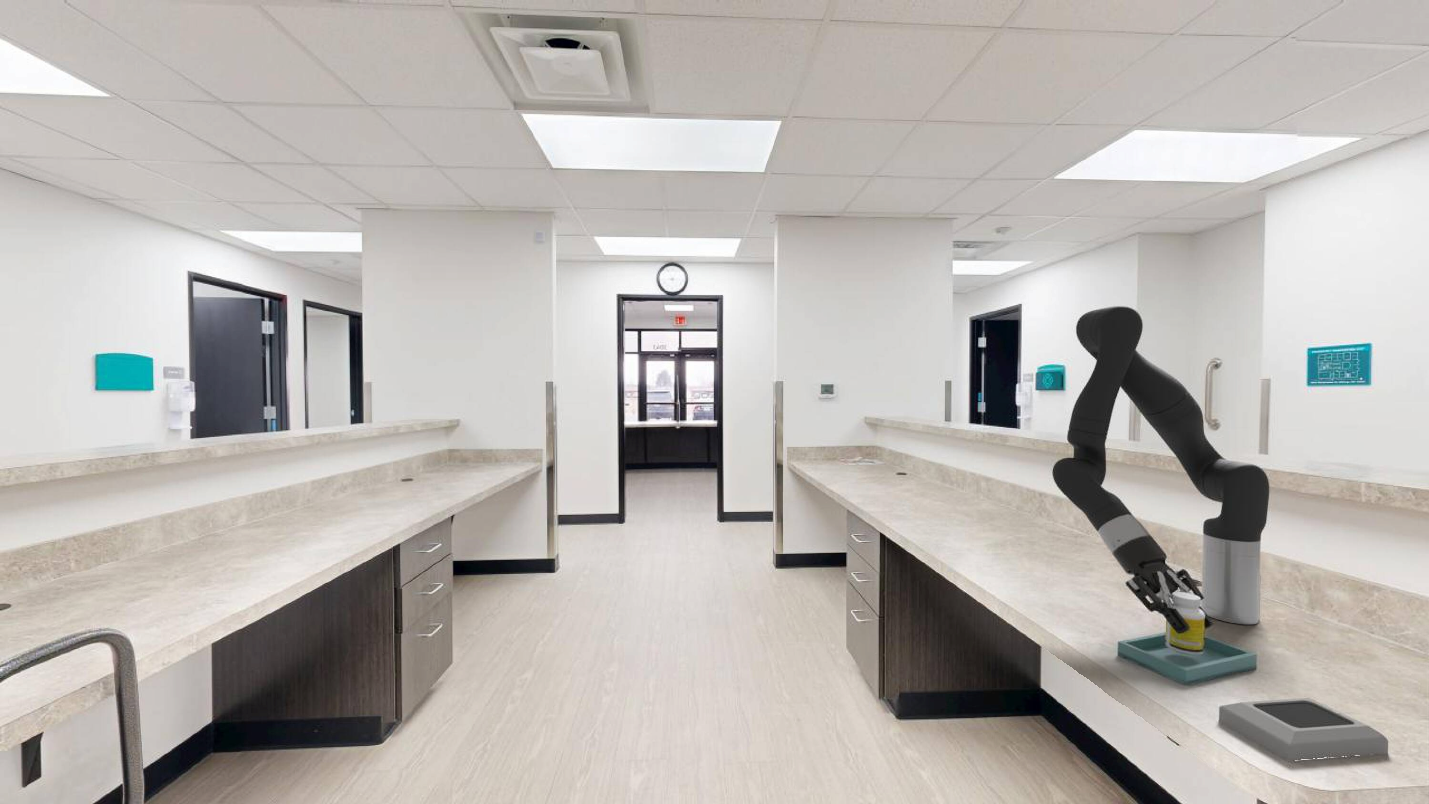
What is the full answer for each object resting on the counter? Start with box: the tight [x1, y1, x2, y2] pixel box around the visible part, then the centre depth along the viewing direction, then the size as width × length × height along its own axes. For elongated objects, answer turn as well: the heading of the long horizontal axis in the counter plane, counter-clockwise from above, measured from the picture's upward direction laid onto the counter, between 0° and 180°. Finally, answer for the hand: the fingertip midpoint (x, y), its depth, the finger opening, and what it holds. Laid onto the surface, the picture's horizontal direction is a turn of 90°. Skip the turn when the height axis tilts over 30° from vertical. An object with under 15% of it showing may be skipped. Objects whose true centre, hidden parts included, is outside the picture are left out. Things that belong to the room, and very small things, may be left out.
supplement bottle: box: [1165, 591, 1206, 655], centre depth 105 cm, size 5×5×10 cm
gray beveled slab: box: [1218, 697, 1389, 761], centre depth 83 cm, size 10×4×15 cm
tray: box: [1117, 631, 1258, 686], centre depth 105 cm, size 18×12×2 cm, turn 109°
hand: (1196, 628), depth 103 cm, fingers closed on supplement bottle, 5 cm apart
